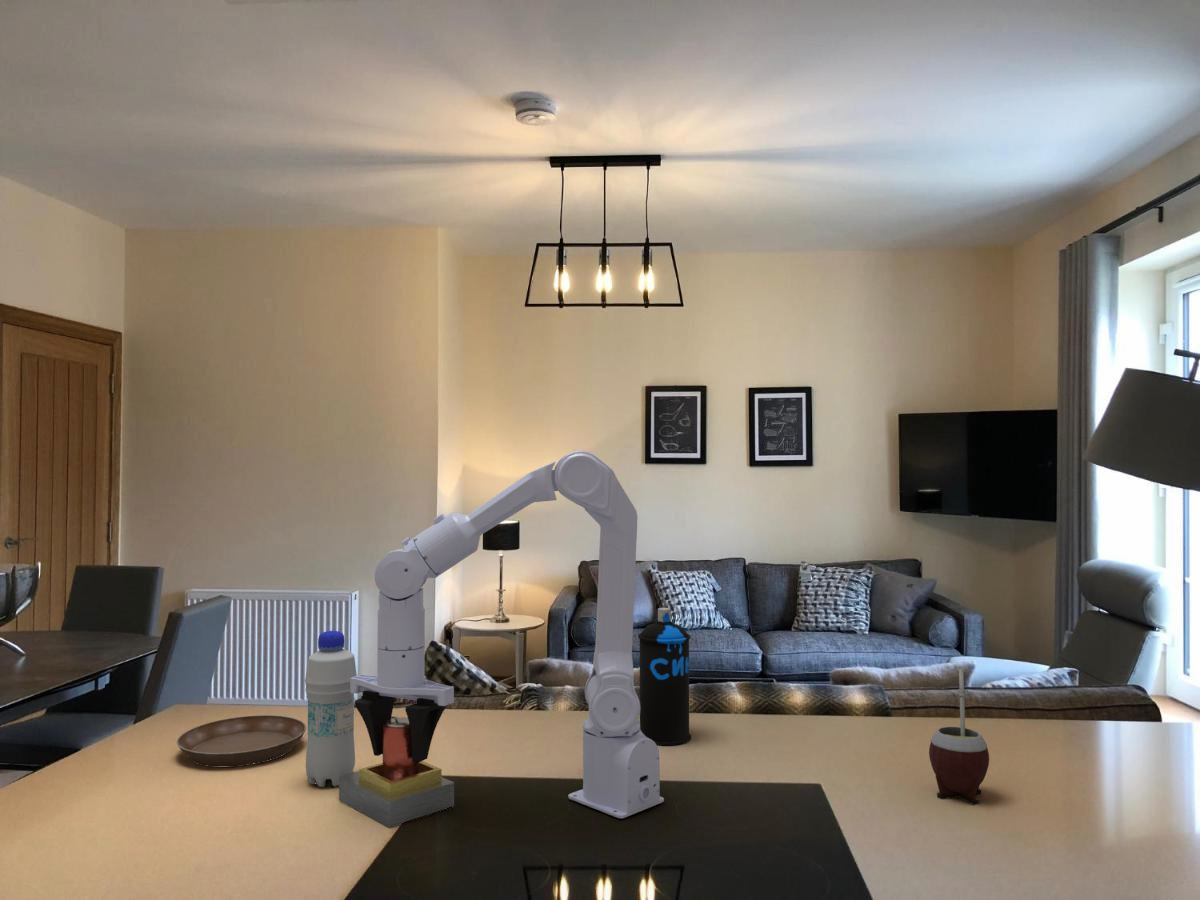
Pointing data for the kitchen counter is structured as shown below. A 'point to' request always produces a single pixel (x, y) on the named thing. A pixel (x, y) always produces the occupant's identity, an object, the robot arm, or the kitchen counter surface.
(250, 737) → the plant saucer
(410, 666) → the robot arm
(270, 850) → the kitchen counter surface
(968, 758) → the mate gourd
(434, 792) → the grey socket block
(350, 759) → the bottle
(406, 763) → the red metal cylinder
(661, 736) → the aerosol can
